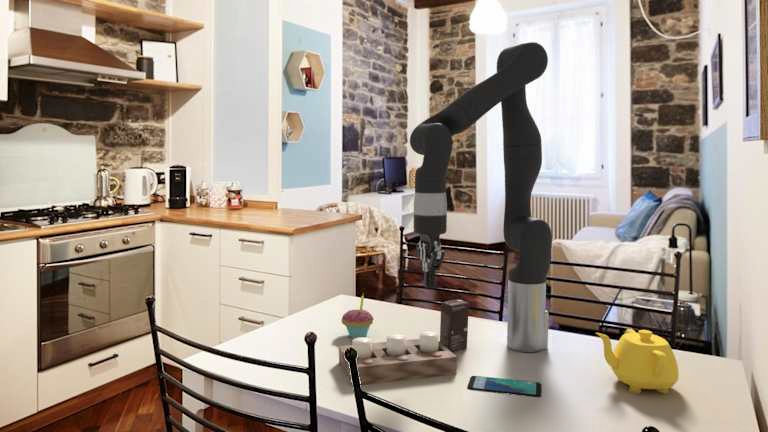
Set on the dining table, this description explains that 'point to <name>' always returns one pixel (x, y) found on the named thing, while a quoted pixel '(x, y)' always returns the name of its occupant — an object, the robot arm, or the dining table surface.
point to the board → (401, 363)
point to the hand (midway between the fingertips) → (429, 287)
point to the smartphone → (505, 386)
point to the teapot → (642, 361)
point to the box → (454, 324)
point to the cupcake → (357, 321)
